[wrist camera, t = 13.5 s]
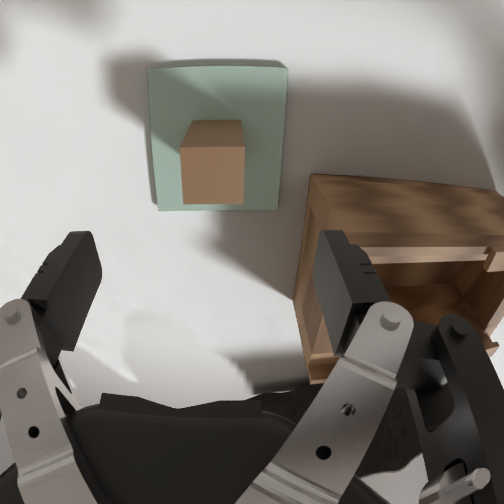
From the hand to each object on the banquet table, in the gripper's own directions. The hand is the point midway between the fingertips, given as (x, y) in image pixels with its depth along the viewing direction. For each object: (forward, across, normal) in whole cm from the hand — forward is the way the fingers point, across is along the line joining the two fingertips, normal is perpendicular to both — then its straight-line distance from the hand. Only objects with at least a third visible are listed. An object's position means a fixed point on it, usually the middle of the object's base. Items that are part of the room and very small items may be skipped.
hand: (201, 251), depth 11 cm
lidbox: (+13, -17, +9) cm, 23 cm away
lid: (+13, 0, 0) cm, 13 cm away
